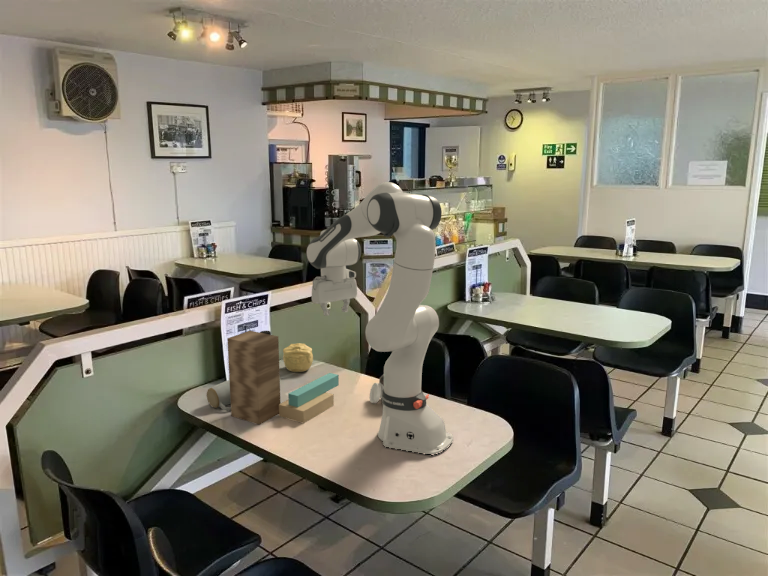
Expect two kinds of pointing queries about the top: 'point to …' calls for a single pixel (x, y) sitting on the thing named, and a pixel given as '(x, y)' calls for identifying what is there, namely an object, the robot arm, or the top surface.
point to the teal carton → (313, 389)
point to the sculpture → (297, 357)
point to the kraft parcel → (306, 408)
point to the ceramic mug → (220, 395)
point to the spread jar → (377, 390)
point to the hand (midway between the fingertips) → (336, 313)
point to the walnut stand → (254, 376)
